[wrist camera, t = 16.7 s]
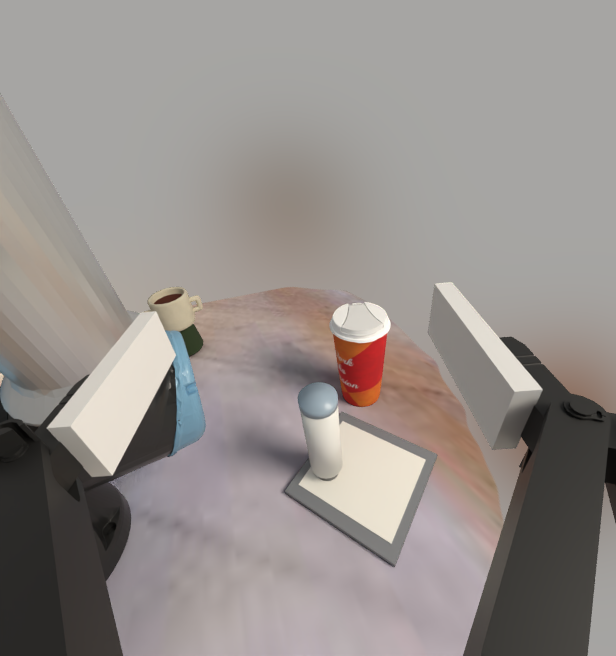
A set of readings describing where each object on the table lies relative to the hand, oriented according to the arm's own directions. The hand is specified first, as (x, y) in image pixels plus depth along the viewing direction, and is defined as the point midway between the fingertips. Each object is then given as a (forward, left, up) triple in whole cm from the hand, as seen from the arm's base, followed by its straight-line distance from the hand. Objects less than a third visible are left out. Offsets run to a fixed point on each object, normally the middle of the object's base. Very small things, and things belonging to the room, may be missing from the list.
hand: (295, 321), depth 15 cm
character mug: (-45, +16, -30) cm, 56 cm away
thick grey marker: (-6, +8, -29) cm, 31 cm away
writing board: (-2, +10, -30) cm, 32 cm away
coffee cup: (-8, +22, -30) cm, 38 cm away
